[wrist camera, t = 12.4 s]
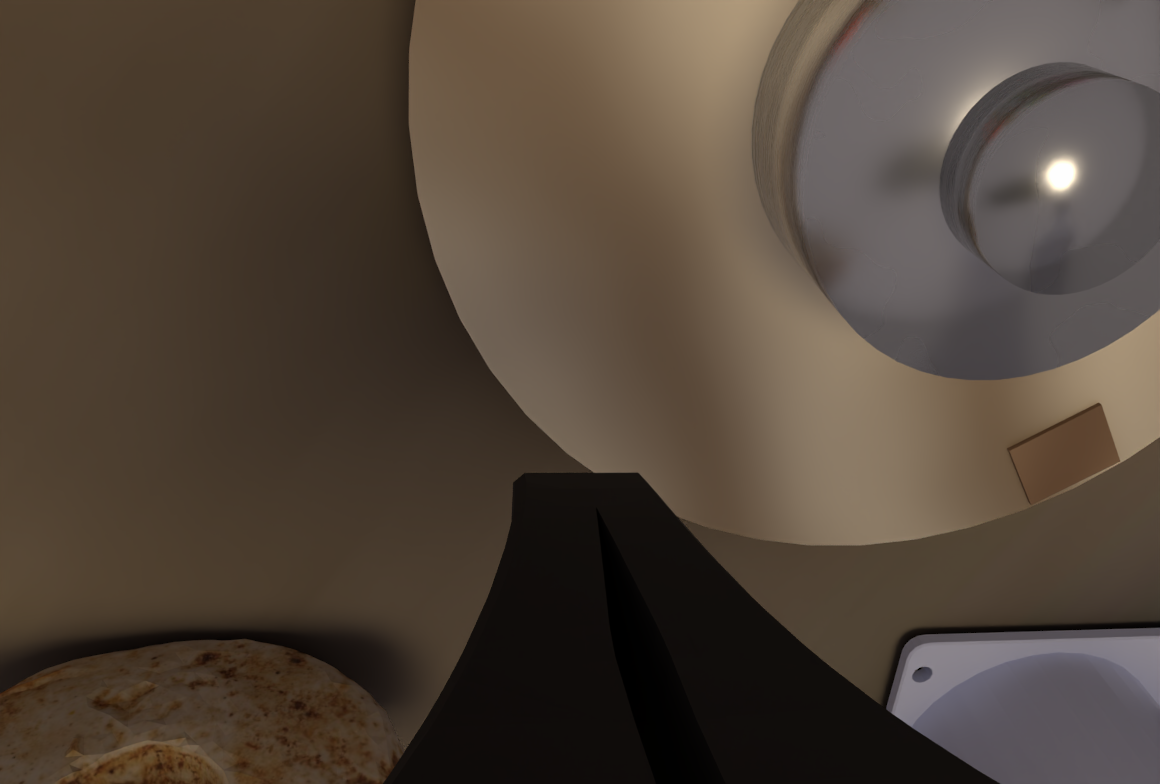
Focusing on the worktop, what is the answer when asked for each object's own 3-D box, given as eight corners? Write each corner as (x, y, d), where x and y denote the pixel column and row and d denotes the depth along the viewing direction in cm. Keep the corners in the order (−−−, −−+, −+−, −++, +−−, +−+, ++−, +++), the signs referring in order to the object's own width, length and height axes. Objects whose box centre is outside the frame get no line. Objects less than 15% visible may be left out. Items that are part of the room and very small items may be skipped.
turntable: (689, 638, 24) (744, 821, 20) (178, -108, 16) (73, -88, 11) (1451, 259, 21) (1715, 370, 17) (1326, -872, 13) (1780, -1241, 9)
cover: (849, 371, 20) (941, 493, 16) (678, 54, 17) (744, 115, 13) (1192, 176, 19) (1375, 259, 15) (1079, -205, 15) (1277, -219, 12)
